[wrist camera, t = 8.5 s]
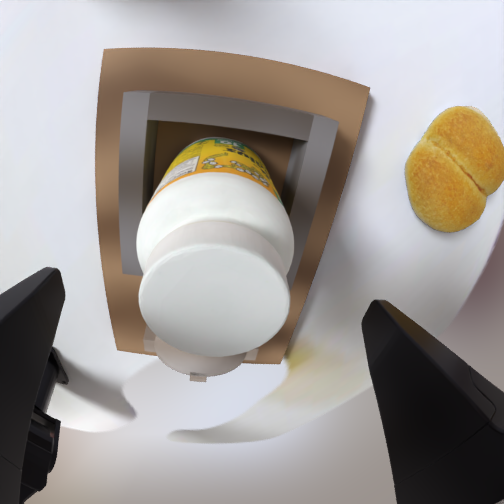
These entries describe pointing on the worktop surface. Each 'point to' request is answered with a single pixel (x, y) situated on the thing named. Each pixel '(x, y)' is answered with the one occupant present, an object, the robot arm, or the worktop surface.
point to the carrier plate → (216, 125)
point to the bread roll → (454, 169)
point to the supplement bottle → (215, 252)
